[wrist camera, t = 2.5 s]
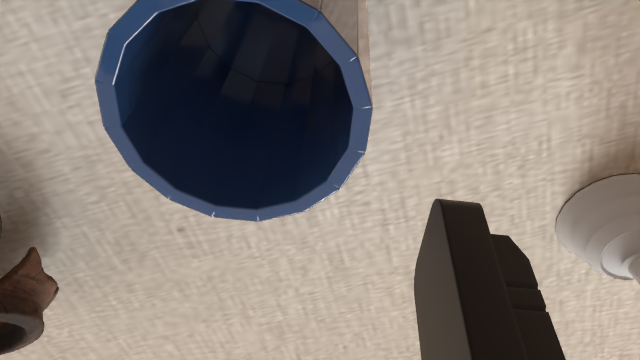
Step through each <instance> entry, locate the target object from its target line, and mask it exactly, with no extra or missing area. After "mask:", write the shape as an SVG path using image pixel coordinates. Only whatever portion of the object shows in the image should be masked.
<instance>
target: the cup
mask: <svg viewBox="0 0 640 360" xmlns="http://www.w3.org/2000/svg"><path fill="white" fill-rule="evenodd" d="M95 85H96V91H97V96H98V101H99V106H100V111H101V116H102V122H103V126H104V127H105V130H106V132H107V134H108V135H109V137H110V138H111V140H112V141H113V143H114V144H115V146H116V148H117V149H118V151H119V152H120V154H121V155H122V157H123V158H124V160H125V162H126V163H127V165H128V166H129V167H130V168H131V170H132V171H134V172H135V173H136V174H137V175H139V176H140V177H141V178H142V179H144V180H145V181H146V182H147V183H149V184H150V185H151V186H152V187H154V188H155V189H156V190H157V191H158V192H160V193H161V194H162V195H163V196H165V197H166V198H169V200H171V201H173V202H176V203H178V204H181V205H183V206H186V207H188V208H191V209H193V210H196V211H198V212H201V213H203V214H206V215H208V216H211V217H215V218H224V219H235V220H245V221H255V222H258V221H266V220H270V219H275V218H280V217H284V216H289V215H294V214H299V213H302V212H305V211H306V210H308V209H310V208H311V207H313V206H314V205H316V204H318V203H319V202H321V201H322V200H324V199H326V198H327V197H329V196H330V195H332V194H334V193H335V192H337V191H338V190H339V189H340V188H342V186H343V185H344V183H345V182H346V180H347V179H348V178H349V176H350V175H351V173H352V172H353V170H354V169H355V167H356V166H357V165H358V163H359V162H360V160H361V159H362V157H363V156H364V154H365V152H366V148H367V142H368V136H369V130H370V124H371V117H372V111H373V102H372V85H371V68H370V52H369V35H368V18H367V2H366V0H137V1H136V2H135V3H134V4H133V5H132V6H131V7H130V8H129V9H128V10H127V11H126V12H125V13H124V14H123V15H122V16H121V17H120V18H119V19H118V20H117V22H116V23H115V24H114V25H113V26H112V27H111V28H110V29H109V30H108V33H107V34H106V38H105V42H104V45H103V49H102V53H101V56H100V60H99V64H98V67H97V71H96V75H95Z"/></svg>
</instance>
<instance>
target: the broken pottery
mask: <svg viewBox="0 0 640 360" xmlns="http://www.w3.org/2000/svg"><path fill="white" fill-rule="evenodd" d="M57 285H58V284H57V282H56V281H55V280H54V279H53V278H52V277H51V276H49V275H48V274H46V273H45V272H44V270H43V268H42V265H41V259H40V256H39V253H38V251H37V249H36V248H35V247H31V248H30V249H29V250H28V252H27V254H26V255H25V257H24V258H23V259H22V260H21V262H19V264H18V265H16V266H15V267H14V268H12V269H11V270H10V271H9V272H8V273H6V274H5V275H4V276H3V277H2V278H1V279H0V355H2V354H5V353H10V352H13V351H15V350H19V349H21V348H23V347H25V346H27V345H29V344H31V343H33V342H34V341H35V340H37V339H38V338H39V337H40V336H41V335H42V333H43V331H44V322H43V311H44V310H45V309H46V308H47V307H48V306H49V305H50V303H51V302H52V301H53V300H54V298H55V296H56V295H57V293H58V290H59V287H58V286H57Z"/></svg>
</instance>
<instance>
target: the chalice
mask: <svg viewBox="0 0 640 360" xmlns="http://www.w3.org/2000/svg"><path fill="white" fill-rule="evenodd" d="M555 232H556V234H557V237H558V240H559V243H560V244H561V245H562V246H563V247H564V248H565V249H566V250H567V251H569V252H571V253H573V254H575V255H576V256H577V257H578V258H579V259H580V260H581V261H582V262H584V263H586V264H588V265H589V266H590V267H591V268H592V269H593V270H594V271H596V272H598V273H600V274H603V275H605V276H609V277H612V278H615V279H622V280H632V279H635V280H636V281H637V282H638V283H639V284H640V174H628V175H618V176H612V177H609V178H606V179H603V180H600V181H597V182H594V183H593V184H591V185H589V186H588V187H586V188H584V189H583V190H581V191H579V192H577V193H576V194H575V195H574V196H573V197H572V198H571V199H570V200H569V201H568V202H567V203H566V204H565V205H564V207H563V209H562V210H561V212H560V214H559V216H558V218H557V223H556V231H555Z"/></svg>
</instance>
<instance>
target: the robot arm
mask: <svg viewBox="0 0 640 360" xmlns="http://www.w3.org/2000/svg"><path fill="white" fill-rule="evenodd" d="M1 233H2V220H1V216H0V237H1ZM414 296H415V305H416V314H417V323H418V332H419V341H420V350H421V359H422V360H566V359H565V356H564V354H563V351H562V348H561V346H560V343H559V340H558V337H557V335H556V332H555V329H554V327H553V324H552V321H551V318H550V316H549V313H548V312H546V305H545V302H544V299H543V297H542V294H541V291H540V290H538V283H537V280H536V278H535V275H534V272H533V269H532V267H531V264H530V261H529V259H528V258H527V256H526V255H525V254H524V253H523V252H522V251H521V250H520V249H519V247H518V246H517V245H516V244H515V243H514V242H513V241H512V239H511V238H510V237H509V236H506V235H496V234H490V231H489V228H488V224H487V221H486V218H485V214H484V211H483V208H482V206H481V204H479V203H474V202H464V201H454V200H444V199H435V201H434V202H433V204H432V207H431V211H430V214H429V218H428V222H427V225H426V229H425V233H424V236H423V240H422V244H421V247H420V251H419V255H418V258H417V262H416V268H415V277H414Z"/></svg>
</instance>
